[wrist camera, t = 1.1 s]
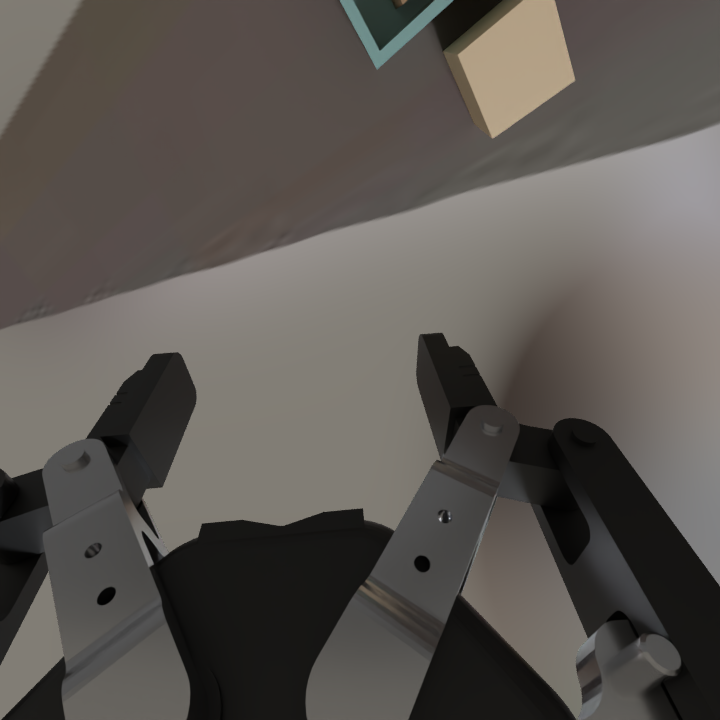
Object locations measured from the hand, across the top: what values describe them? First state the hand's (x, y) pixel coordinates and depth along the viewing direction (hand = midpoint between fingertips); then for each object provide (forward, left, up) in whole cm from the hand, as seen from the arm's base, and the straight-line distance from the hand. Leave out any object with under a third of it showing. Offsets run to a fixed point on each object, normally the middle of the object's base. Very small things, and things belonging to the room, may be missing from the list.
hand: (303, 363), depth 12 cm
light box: (-10, +8, -22) cm, 26 cm away
